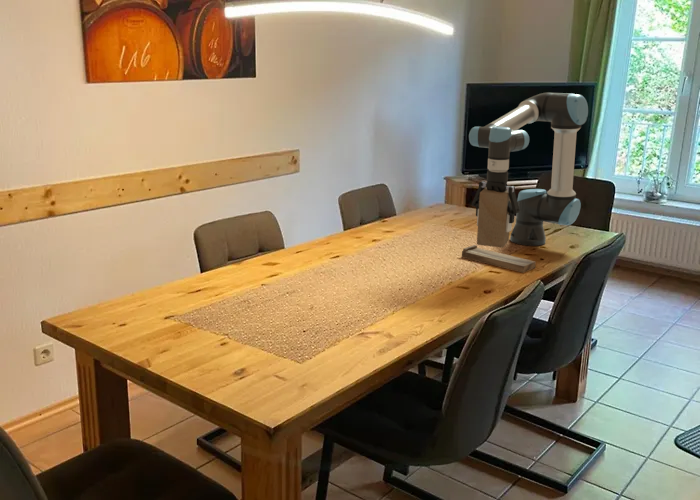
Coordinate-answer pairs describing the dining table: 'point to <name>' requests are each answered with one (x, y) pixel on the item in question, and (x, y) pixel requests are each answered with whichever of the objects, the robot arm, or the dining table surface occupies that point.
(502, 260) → the curved panel
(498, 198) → the wooden block
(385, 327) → the dining table surface
